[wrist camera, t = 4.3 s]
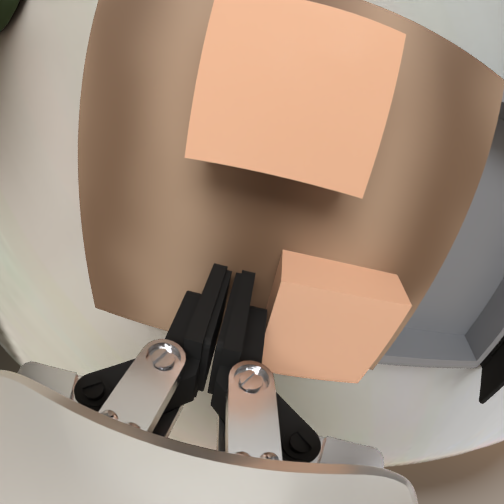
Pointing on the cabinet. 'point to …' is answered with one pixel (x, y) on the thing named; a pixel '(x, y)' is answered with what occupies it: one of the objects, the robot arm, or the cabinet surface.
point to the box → (464, 284)
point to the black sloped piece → (492, 372)
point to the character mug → (7, 11)
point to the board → (257, 183)
